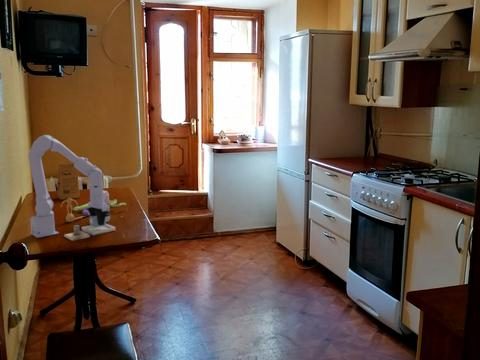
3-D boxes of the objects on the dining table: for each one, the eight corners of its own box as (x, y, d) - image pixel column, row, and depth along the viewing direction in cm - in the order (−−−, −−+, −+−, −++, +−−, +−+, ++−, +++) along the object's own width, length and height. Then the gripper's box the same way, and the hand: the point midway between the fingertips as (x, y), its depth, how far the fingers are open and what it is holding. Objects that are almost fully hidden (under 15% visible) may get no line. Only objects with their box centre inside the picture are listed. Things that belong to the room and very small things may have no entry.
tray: (92, 235, 202) (92, 231, 202) (81, 230, 210) (81, 227, 210) (115, 230, 210) (115, 227, 210) (104, 225, 218) (103, 222, 217)
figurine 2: (128, 212, 246) (127, 202, 245) (75, 217, 235) (75, 207, 234) (121, 205, 263) (120, 196, 262) (72, 210, 251) (71, 200, 250)
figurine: (61, 223, 222) (59, 199, 220) (62, 220, 228) (60, 196, 226) (79, 222, 225) (77, 198, 223) (79, 219, 230) (78, 195, 228)
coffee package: (57, 197, 284) (54, 162, 280) (78, 195, 289) (76, 161, 285) (58, 200, 275) (56, 164, 271) (80, 198, 280) (78, 162, 277)
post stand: (72, 240, 194) (71, 229, 194) (64, 236, 200) (63, 225, 199) (89, 237, 200) (89, 225, 199) (82, 233, 206) (81, 222, 205)
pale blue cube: (106, 224, 209) (105, 216, 209) (94, 227, 205) (93, 218, 205) (100, 222, 213) (100, 214, 212) (88, 225, 209) (88, 216, 208)
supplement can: (92, 220, 228) (90, 190, 226) (109, 218, 231) (108, 189, 228) (93, 224, 221) (91, 193, 218) (110, 222, 223) (109, 192, 221)
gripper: (112, 195, 205) (114, 225, 207) (97, 191, 215) (99, 219, 217) (97, 198, 200) (99, 228, 202) (83, 193, 210) (84, 222, 213)
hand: (98, 223), depth 209 cm, fingers closed on pale blue cube, 5 cm apart
